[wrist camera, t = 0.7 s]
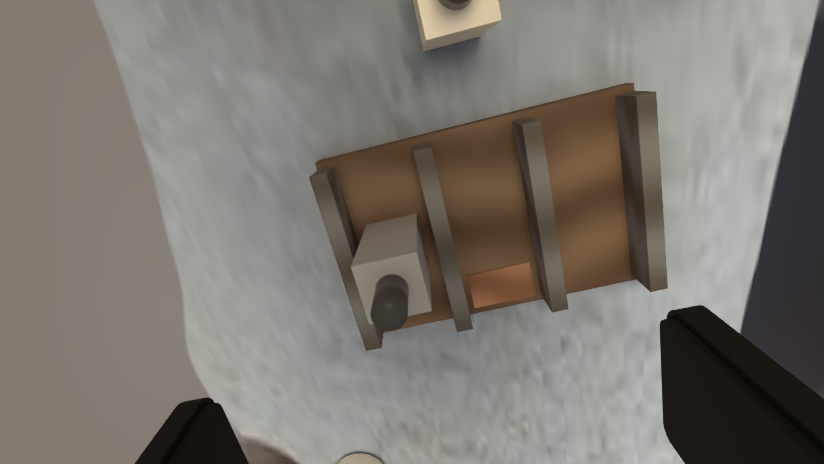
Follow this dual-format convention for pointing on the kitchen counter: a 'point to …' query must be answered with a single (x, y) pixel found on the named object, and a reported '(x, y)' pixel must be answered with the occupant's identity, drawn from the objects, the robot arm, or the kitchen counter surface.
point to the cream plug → (454, 20)
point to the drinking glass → (359, 459)
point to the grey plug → (392, 272)
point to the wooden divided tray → (511, 204)
